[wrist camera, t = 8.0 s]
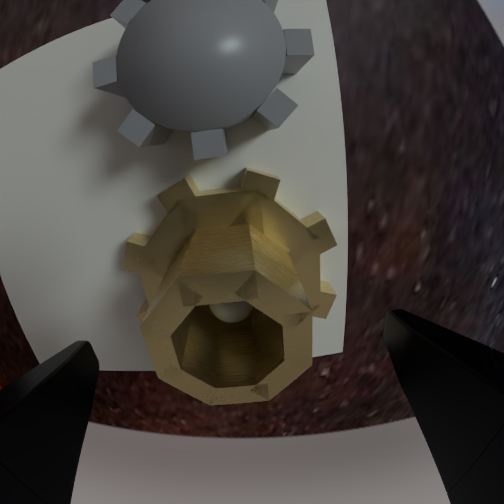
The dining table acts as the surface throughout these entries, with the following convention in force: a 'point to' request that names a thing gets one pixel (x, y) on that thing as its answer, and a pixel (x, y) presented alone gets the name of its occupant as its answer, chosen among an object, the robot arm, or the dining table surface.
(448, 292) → the dining table surface
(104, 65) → the carrier
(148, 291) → the gear
